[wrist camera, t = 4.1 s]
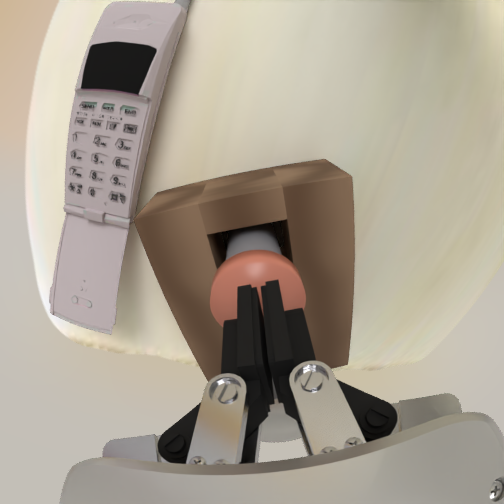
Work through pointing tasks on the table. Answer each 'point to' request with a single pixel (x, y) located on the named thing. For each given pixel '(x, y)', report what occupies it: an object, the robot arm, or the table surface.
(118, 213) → the mobile phone
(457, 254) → the table surface
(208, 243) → the block
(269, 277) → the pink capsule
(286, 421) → the white light bulb
